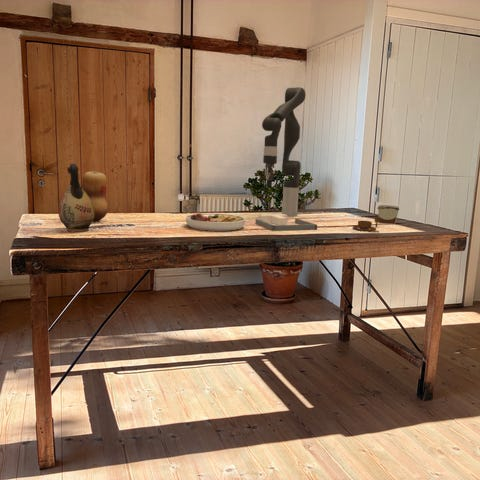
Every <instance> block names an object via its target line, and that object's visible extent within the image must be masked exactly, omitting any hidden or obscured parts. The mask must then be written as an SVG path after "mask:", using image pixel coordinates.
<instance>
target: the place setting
mask: <svg viewBox="0 0 480 480" xmlns="http://www.w3.org/2000/svg"><path fill="white" fill-rule="evenodd" d="M374 222H375V226H372V223H373V222H372V221H369V220H358V221H357V225H354V226H353V225H352V229H353V230H355V231H356V232H357V231H358V232H366V231H368V233H379V232H380V231H379V230H377V228H378V223H379V217H378V216H375V217H374Z"/></svg>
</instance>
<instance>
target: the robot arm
mask: <svg viewBox="0 0 480 480" xmlns="http://www.w3.org/2000/svg"><path fill="white" fill-rule="evenodd" d="M284 92H285V93H284V103H282V104H280V105H278V107H276V109H275V110H274V112H272V113H270V114H269V115H267V116H266V117H265V118H264V119H263V121H262V123H261V127H262V129H263V130H264V131H265V132H271V134H269V135H266V136H265V137H264V146H263V147H264V148H263V159H262V162H263V164H265V166H264V167H265V168H263V171H262V172H263V174H264V175H263V176H264V178H265V179H266V187H272V180H274V179H275V176H276V173H277V169H275V165H276V164H277V163H278V139H279V136H280V132H281V129H282V123H283V122H284V132H283V135H284V136H283V154H282V163H281V173H282V175H283V176H289V177H293V178H292V179H290V180H287V181H284V183H283V190H282V193H283V194H282V195H283V196H282V206H281V207H282V208H281V214H285V215H287V217H297V216H298V205H299V191H300V189H299V188H300V187H299V186H300V176H301V168H302V166H301V161H299V160H290V156H291V153H292V151H293V150H294V148H295V146H296V145H297V144H298V143H299V140H300V137H301V136H300V135H301V126H300V123H299V122H298V121H299V120H298V119H297V117H296V115H295V112H294V110H295V109H296V108H298V107H299V106H300V105H301V104H302V103H305V102H304V101H305V100H306V90H305V88H303V87H300V86H299V87H297V86H296V87H288V88H286V90H285V91H284Z"/></svg>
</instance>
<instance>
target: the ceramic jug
mask: <svg viewBox="0 0 480 480" xmlns="http://www.w3.org/2000/svg"><path fill="white" fill-rule="evenodd" d="M67 173H68V174H69V175H70V184H69V185H68V186H67V189H66V190H65V191H64V194H63V195H62V197H61V199H60V201H59V205H58V211H57V212H58V213H57V215H58V217H59V221H60V223H62V224H63V225H64V227H65V228H66V229H67V231H68V232H75V233H76V232H77V233H78V232H84V231H90V226H91V225H92V224H93V222H94V221H93V220H94V216H95V212H94V207H93V204H92V201H91V200H90V198H89V196H88V195H87V193H86V192H85V191H84V189H83V188H82V185H80V182H79V167H78V166H77V164H76V163H71V164H69V166H68V167H67Z"/></svg>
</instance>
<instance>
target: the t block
mask: <svg viewBox="0 0 480 480" xmlns="http://www.w3.org/2000/svg"><path fill="white" fill-rule="evenodd" d="M258 219H259V220H262V221H265V222H267V223H270V224H272V225H287V223H288V216H287V215H285V214H282V213H280V214H279V213H278V214H276V213H274V214H273V213H272V214H270V213H269V214H268V213H267V214H262V213H261V214H259V215H258Z"/></svg>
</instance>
